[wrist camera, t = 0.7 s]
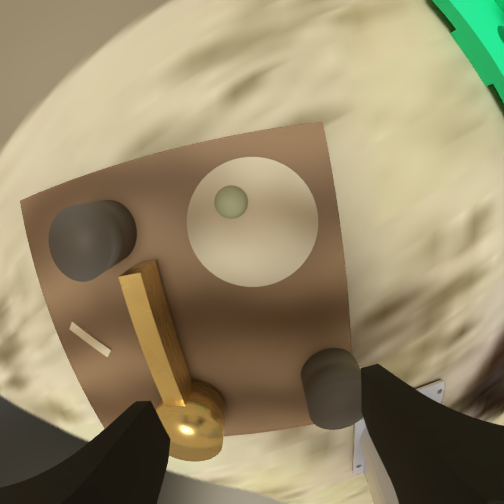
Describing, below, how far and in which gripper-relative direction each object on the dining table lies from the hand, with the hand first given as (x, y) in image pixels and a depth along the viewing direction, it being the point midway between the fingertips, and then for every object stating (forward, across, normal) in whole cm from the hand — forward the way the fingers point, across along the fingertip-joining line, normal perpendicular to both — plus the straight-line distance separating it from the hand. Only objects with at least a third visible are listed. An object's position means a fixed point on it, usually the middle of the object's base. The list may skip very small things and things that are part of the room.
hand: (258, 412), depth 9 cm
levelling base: (+9, +4, 0) cm, 10 cm away
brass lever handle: (+8, +5, +2) cm, 9 cm away
